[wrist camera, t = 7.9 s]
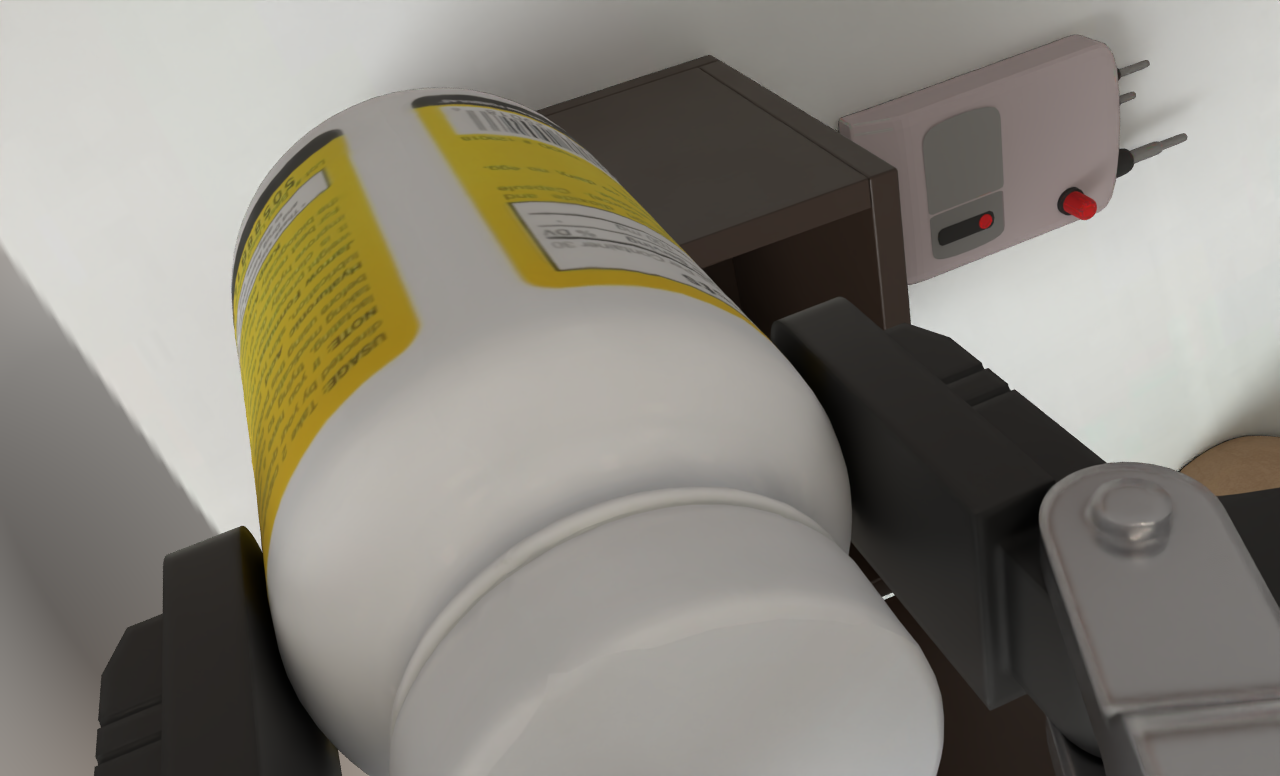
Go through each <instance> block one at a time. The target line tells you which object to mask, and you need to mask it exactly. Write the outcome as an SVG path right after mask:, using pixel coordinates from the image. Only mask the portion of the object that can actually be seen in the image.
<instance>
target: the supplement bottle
mask: <svg viewBox="0 0 1280 776" xmlns="http://www.w3.org/2000/svg"><path fill="white" fill-rule="evenodd" d="M231 293H232V310H233V323H234V329H235V339H236V346H237V352H238V359H239V365H240V371H241V378H242V384H243V391H244V401H245V407H246V417H247V424H248V431H249V438H250V446H251V456H252V465H253V471H254V478H255V487H256V495H257V505H258V514H259V523H260V532H261V544H262V552H263V560H264V570H265V579H266V589H267V597H268V602H269V607H270V612H271V616H272V621H273V626H274V630H275V635H276V640H277V644H278V649H279V653H280V656H281V659H282V662H283V665H284V668H285V671H286V674H287V676H288V679H289V681H290V683H291V685H292V687H293V689H294V691H295V693H296V695H297V697H298V699H299V701H300V702H301V704H302V705H303V707H304V708H305V709H306V711H307V712H308V714H309V715H310V717H311V718H312V719H313V721H314V722H315V724H316V725H317V727H318V728H319V729H320V730H321V731H322V732H323V733H324V735H325V736H326V737H327V738H328V739H329V740H330V742H331V743H332V744H333V745H334V746H335V747H336V748H337V749H338V750H339V751H340V752H342V754H343V755H345V756H346V757H347V758H348V759H349V760H350V761H351V762H352V763H353V764H355V765H356V766H357V767H358V768H360V769H361V770H362V771H364V772H365V773H366V774H368V775H370V776H937V772H938V768H939V764H940V760H941V756H942V750H943V744H944V711H943V703H942V696H941V693H940V689H939V686H938V683H937V680H936V676H935V674H934V672H933V670H932V668H931V667H930V665H929V663H928V661H927V659H926V657H925V655H924V653H923V652H922V650H921V648H920V646H919V645H918V643H917V642H916V641H915V640H914V639H913V637H912V636H911V635H910V634H909V632H908V631H907V630H906V629H905V627H904V626H903V625H902V624H901V622H900V621H899V620H898V619H897V617H896V616H895V614H894V613H893V612H892V610H891V609H890V608H889V606H888V605H887V604H886V602H885V601H884V599H883V598H882V597H881V595H880V594H879V593H878V592H877V590H876V589H875V588H874V586H873V585H872V584H871V582H870V581H869V580H868V579H867V577H866V576H865V575H864V573H863V572H862V571H861V569H860V568H859V567H858V565H857V564H856V563H855V561H854V560H853V559H852V558H851V557H850V556H848V555H849V549H850V542H851V530H852V504H851V492H850V483H849V477H848V472H847V467H846V464H845V460H844V457H843V454H842V451H841V447H840V444H839V442H838V439H837V437H836V434H835V432H834V429H833V427H832V424H831V422H830V420H829V418H828V416H827V414H826V412H825V410H824V408H823V407H822V405H821V404H820V402H819V401H818V399H817V397H816V396H815V394H814V393H813V391H812V390H811V388H810V387H809V386H808V384H807V383H806V382H805V381H804V379H803V378H802V377H801V375H800V374H799V373H798V372H797V370H796V369H795V368H794V367H793V365H792V364H791V363H790V362H789V360H788V359H787V358H786V357H785V356H784V355H783V354H782V353H781V352H780V351H779V349H778V348H777V347H776V346H775V345H774V344H773V343H772V342H771V341H770V339H769V338H768V337H767V336H766V335H765V334H764V333H763V332H761V331H760V329H759V328H758V327H757V326H756V325H755V324H754V323H753V322H752V321H751V320H750V319H749V318H748V317H747V316H746V315H745V314H744V313H743V312H742V311H741V310H740V309H739V307H738V306H737V305H736V304H735V303H734V302H733V301H732V300H731V299H730V298H729V297H727V296H726V295H725V294H724V293H723V291H722V290H721V289H720V288H719V287H718V286H717V285H716V284H715V283H714V282H713V281H712V280H711V279H710V277H709V276H708V275H707V274H706V273H705V272H704V271H703V270H702V269H701V268H700V267H699V266H698V265H697V264H696V263H695V262H694V261H693V260H692V259H691V257H690V256H689V255H688V254H687V253H686V252H685V251H684V250H683V249H682V248H681V247H680V246H679V245H678V244H677V243H676V242H675V241H674V240H673V239H672V238H671V237H670V236H669V235H668V234H667V232H666V231H665V230H664V229H663V228H662V227H661V226H660V225H659V224H658V223H657V222H656V221H655V220H654V218H653V217H652V216H651V215H650V214H649V213H648V212H647V211H646V210H645V209H644V208H643V207H642V206H641V205H640V204H639V203H638V202H637V201H636V200H635V199H634V198H633V197H632V196H631V195H630V194H629V193H628V192H627V191H626V190H625V189H624V188H623V187H622V186H621V185H620V183H619V182H618V181H617V180H616V179H615V178H614V177H613V176H612V175H611V174H610V173H609V172H608V171H607V170H606V169H605V168H604V167H603V166H602V165H601V163H600V162H599V161H598V160H597V159H596V158H595V157H594V156H593V155H592V153H590V152H589V151H588V150H587V149H586V148H585V147H584V146H583V145H582V144H580V143H579V142H578V141H577V140H576V139H574V138H573V137H572V136H571V135H569V134H568V133H567V132H566V131H564V130H563V129H562V128H560V127H559V126H557V125H556V124H554V123H553V122H552V121H550V120H549V119H547V118H546V117H544V116H543V115H541V114H539V113H537V112H536V111H534V110H532V109H530V108H528V107H525V106H523V105H521V104H518V103H516V102H514V101H511V100H508V99H505V98H502V97H499V96H495V95H492V94H489V93H484V92H479V91H474V90H469V89H460V88H435V87H434V88H421V89H412V90H406V91H399V92H393V93H390V94H386V95H383V96H379V97H375V98H372V99H369V100H367V101H364V102H362V103H359V104H357V105H355V106H352V107H350V108H348V109H346V110H344V111H342V112H340V113H338V114H336V115H334V116H332V117H331V118H329V119H327V120H326V121H324V122H323V123H321V124H320V125H318V126H317V127H315V128H314V129H312V130H311V131H310V132H308V133H307V134H306V135H305V136H304V137H302V138H301V139H300V140H299V141H297V142H296V143H295V144H294V145H293V146H292V147H291V148H290V149H289V150H288V151H287V152H286V153H285V154H284V155H283V156H282V157H281V158H280V160H279V161H278V162H277V163H276V164H275V166H274V167H273V168H272V169H271V170H270V172H269V173H268V174H267V176H266V177H265V179H264V180H263V181H262V183H261V184H260V186H259V188H258V190H257V192H256V193H255V195H254V197H253V199H252V201H251V202H250V205H249V207H248V209H247V212H246V214H245V216H244V218H243V221H242V224H241V227H240V230H239V234H238V237H237V242H236V246H235V251H234V258H233V267H232V283H231Z"/></svg>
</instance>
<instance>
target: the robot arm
mask: <svg viewBox="0 0 1280 776" xmlns="http://www.w3.org/2000/svg"><path fill="white" fill-rule="evenodd" d="M771 342H772V343H773V344H774V345H775V346H776V347H777V348H778V349H779V351H780V352H781V353H782V354H783V355H784V356H785V357H786V358H787V359H788V360H789V362H790V363H791V364H792V365H793V367H794V368H795V369H796V370H797V372H798V373H799V374H800V375H801V377H802V378H803V379H804V381H805V382H806V383H807V384H808V386H809V387H810V388H811V390H812V391H813V393H814V394H815V396H816V397H817V399H818V401H819V402H820V404H821V405H822V407H823V408H824V410H825V412H826V414H827V416H828V418H829V420H830V422H831V424H832V427H833V429H834V432H835V434H836V437H837V439H838V442H839V444H840V447H841V451H842V454H843V457H844V460H845V464H846V467H847V472H848V477H849V483H850V492H851V504H852V530H851V542H852V543H853V545H854V546H855V547H856V548H857V549H858V551H859V552H860V553H861V554H862V555H863V557H864V558H865V559H866V560H867V562H868V563H869V564H870V565H871V566H872V568H873V569H874V570H875V571H876V573H877V574H878V575H879V576H880V577H881V579H882V580H883V581H884V582H885V584H886V585H887V586H888V587H889V588H890V590H891V591H892V592H893V593H894V594H895V596H896V597H897V598H898V599H899V601H900V602H901V603H902V604H903V605H904V607H905V608H906V609H907V610H908V612H909V613H910V614H911V615H912V616H913V618H914V619H915V620H916V621H917V623H918V624H919V625H920V626H921V627H922V629H923V630H924V631H925V632H926V633H927V635H928V636H929V637H930V638H931V640H932V641H933V642H934V643H935V644H936V646H937V647H938V648H939V649H940V651H941V652H942V653H943V654H944V655H945V657H946V658H947V659H948V660H949V662H950V663H951V664H952V665H953V666H954V668H955V669H956V670H957V671H958V672H959V674H960V675H961V676H962V677H963V679H964V680H965V681H966V682H967V683H968V685H969V686H970V687H971V688H972V690H973V691H974V692H975V693H976V694H977V696H978V697H979V698H980V699H981V701H982V702H983V703H984V704H985V705H986V707H987V708H988V709H989V710H990V711H991V710H993V709H995V708H997V707H1000V706H1002V705H1004V704H1006V703H1008V702H1010V701H1013V700H1015V699H1017V698H1019V697H1021V696H1023V695H1026V694H1028V695H1029V696H1030V697H1031V698H1032V700H1033V701H1034V702H1035V703H1036V704H1037V705H1038V706H1039V708H1040V709H1041V710H1042V711H1043V712H1044V713H1045V714H1046V738H1047V744H1048V749H1049V752H1050V756H1051V760H1052V763H1053V767H1054V770H1055V774H1056V776H1280V487H1279V488H1273V489H1266V490H1260V491H1253V492H1247V493H1241V494H1232V495H1223V496H1216V495H1215V494H1213V493H1212V492H1211V491H1210V490H1209V489H1208V488H1207V487H1206V486H1204V485H1203V484H1201V483H1200V482H1198V481H1197V480H1195V479H1193V478H1191V477H1189V476H1187V475H1185V474H1183V473H1181V472H1178V471H1175V470H1172V469H1170V468H1166V467H1162V466H1158V465H1153V464H1146V463H1137V462H1117V463H1106V462H1105V461H1104V460H1102V459H1101V458H1100V457H1099V456H1097V455H1096V454H1095V453H1094V452H1092V451H1091V450H1090V449H1089V448H1087V447H1086V446H1085V445H1084V444H1082V443H1081V442H1080V441H1079V440H1077V439H1076V438H1075V437H1074V436H1072V435H1071V434H1070V433H1069V432H1067V431H1066V430H1065V429H1064V428H1062V427H1061V426H1060V425H1059V424H1057V423H1056V422H1055V421H1054V420H1052V419H1051V418H1050V417H1049V416H1047V415H1046V414H1045V413H1044V412H1042V411H1041V410H1040V409H1039V408H1037V407H1036V406H1035V405H1034V404H1032V403H1031V402H1030V401H1029V400H1027V399H1026V398H1025V397H1024V396H1022V395H1021V394H1020V393H1019V392H1017V391H1016V390H1015V389H1014V390H1012V391H1011V390H1010V389H1009V386H1008V384H1007V383H1006V382H1005V381H1004V380H1002V379H1001V378H1000V377H999V376H997V375H996V374H995V373H994V372H992V371H991V370H990V369H989V368H987V369H984V368H983V366H982V363H981V362H980V361H979V360H977V359H976V358H975V357H974V356H972V355H971V354H970V353H969V352H967V351H966V350H965V349H964V348H962V347H961V346H960V345H959V344H957V343H956V342H955V341H954V340H952V339H951V338H950V337H947V336H944V335H941V334H938V333H935V332H932V331H929V330H926V329H923V328H920V327H917V326H914V325H910V324H907V323H902V324H899V325H897V326H894V327H892V328H889V329H887V330H884V331H883V330H882V329H881V328H880V327H879V326H877V325H876V324H875V323H874V322H873V321H872V320H871V319H869V318H868V317H867V316H866V315H865V314H864V313H862V312H861V311H860V310H859V309H858V308H857V307H855V306H854V305H853V304H852V303H851V302H850V301H848V300H847V299H846V298H843V297H836V298H834V299H831V300H829V301H826V302H823V303H821V304H818V305H816V306H813V307H810V308H808V309H805V310H803V311H800V312H797V313H795V314H792V315H790V316H787V317H784V318H782V319H779V320H777V321H775V322H773V324H772V327H771ZM98 720H99V722H100V725H101V728H99V729H98V730H97V744H96V759H97V761H98V766H96V767H95V771H94V776H342V773H341V766H340V760H339V754H338V749H337V748H336V747H335V746H334V745H333V744H332V743H331V742H330V740H329V739H328V738H327V737H326V736H325V735H324V733H323V732H322V731H321V730H320V729H319V728H318V727H317V725H316V724H315V722H314V721H313V719H312V718H311V717H310V715H309V714H308V712H307V711H306V709H305V708H304V707H303V705H302V704H301V702H300V701H299V699H298V697H297V695H296V693H295V691H294V689H293V687H292V685H291V683H290V681H289V679H288V676H287V674H286V671H285V668H284V665H283V662H282V659H281V656H280V653H279V649H278V644H277V640H276V635H275V630H274V626H273V621H272V616H271V612H270V607H269V602H268V597H267V589H266V579H265V570H264V560H263V553H262V551H261V549H260V547H259V545H258V543H257V542H256V540H255V538H254V537H253V535H252V534H251V532H250V531H249V530H248V529H247V528H246V527H245V526H240V527H238V528H235V529H232V530H230V531H227V532H225V533H222V534H219V535H217V536H214V537H212V538H209V539H207V540H204V541H202V542H199V543H196V544H194V545H191V546H189V547H186V548H183V549H181V550H178V551H176V552H173V553H170V554H168V555H166V556H165V558H164V563H163V614H161V615H158V616H156V617H153V618H151V619H149V620H146V621H143V622H140V623H138V624H135V625H133V626H130V627H128V628H127V629H126V631H125V633H124V635H123V637H122V638H121V640H120V642H119V644H118V646H117V647H116V649H115V651H114V653H113V655H112V657H111V659H110V661H109V662H108V665H107V666H106V668H105V670H104V672H103V674H102V678H101V689H100V703H99V717H98Z"/></svg>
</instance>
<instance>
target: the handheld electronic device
mask: <svg viewBox="0 0 1280 776" xmlns="http://www.w3.org/2000/svg"><path fill="white" fill-rule="evenodd" d="M1149 65H1150V62H1149V61H1148V60H1144V61H1141V62H1138V63H1136V64H1133V65H1130V66H1128V67H1125V68H1122V69H1117V67H1116V63H1115V60H1114V56H1113V53H1112V52H1111V50H1110V49H1109V48H1108V47H1107V45H1106V44H1104V43H1101V42H1098V41H1096V40H1093V39H1090V38H1087V37H1084V36H1081V35H1072V36H1069V37H1066V38H1063V39H1061V40H1058V41H1055V42H1052V43H1050V44H1047V45H1044V46H1041V47H1039V48H1036V49H1033V50H1030V51H1027V52H1025V53H1022V54H1019V55H1016V56H1014V57H1011V58H1008V59H1005V60H1003V61H1000V62H997V63H994V64H992V65H989V66H986V67H983V68H981V69H978V70H975V71H972V72H969V73H967V74H964V75H961V76H958V77H956V78H953V79H950V80H947V81H945V82H942V83H939V84H936V85H934V86H931V87H928V88H925V89H923V90H920V91H917V92H914V93H911V94H909V95H906V96H903V97H900V98H898V99H895V100H892V101H889V102H887V103H884V104H881V105H878V106H875V107H872V108H869V109H866V110H863V111H860V112H857V113H854V114H851V115H849V116H846V117H843V118H840V120H839V133H840V134H842V135H843V136H845V137H846V138H848V139H850V140H851V141H853V142H855V143H856V144H858V145H860V146H861V147H863V148H864V149H866V150H868V151H869V152H871V153H873V154H874V155H876V156H878V157H879V158H881V159H883V160H884V161H886V162H887V163H889V164H891V165H892V166H894V167H896V168H897V170H898V180H899V192H900V203H901V215H902V227H903V238H904V250H905V262H906V273H907V285H911V284H915V283H919V282H922V281H925V280H927V279H930V278H933V277H935V276H938V275H940V274H943V273H945V272H948V271H950V270H953V269H955V268H958V267H960V266H963V265H966V264H968V263H971V262H973V261H976V260H978V259H981V258H983V257H986V256H988V255H991V254H993V253H996V252H999V251H1001V250H1004V249H1006V248H1009V247H1011V246H1014V245H1016V244H1019V243H1021V242H1024V241H1026V240H1029V239H1032V238H1034V237H1037V236H1039V235H1042V234H1044V233H1047V232H1049V231H1052V230H1054V229H1057V228H1059V227H1062V226H1065V225H1067V224H1070V223H1072V222H1075V221H1077V220H1080V219H1081V220H1087V219H1090V218H1091V217H1093V216H1094V215H1095V213H1098V212H1100V211H1101V210H1102V209H1103V208H1105V207H1106V206H1107V204H1108V202H1109V201H1110V199H1111V197H1112V193H1113V189H1114V186H1115V182H1116V178H1118V177H1120V176H1122V175H1124V174H1126V173H1128V172H1129V171H1130V170H1131V169H1132V168H1133V166H1134V163H1137V162H1139V161H1142V160H1145V159H1147V158H1150V157H1152V156H1155V155H1157V154H1159V153H1161V152H1162V150H1164V149H1167V148H1169V147H1172V146H1174V145H1177V144H1179V143H1182V142H1184V141H1186V140H1187V135H1186V134H1184V133H1183V134H1179V135H1176V136H1174V137H1171V138H1169V139H1166V140H1163V141H1161V142H1152V143H1149V144H1147V145H1144V146H1141V147H1139V148H1136V149H1134V150H1131V151H1129V150H1127V149H1119V133H1120V109H1119V106H1120V104H1121V103H1124V102H1127V101H1129V100H1132V99H1134V98H1135V97H1136V94H1135V92H1129V93H1127V94H1124V95H1121V96H1119V87H1118V80H1119V79H1120V78H1121V77H1122V76H1125V75H1128V74H1131V73H1133V72H1136V71H1139V70H1141V69H1144V68H1146V67H1148V66H1149Z"/></svg>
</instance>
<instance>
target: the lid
mask: <svg viewBox="0 0 1280 776" xmlns="http://www.w3.org/2000/svg"><path fill="white" fill-rule="evenodd" d="M884 601H885V602H886V604H887V605H888V606H889V608H890V609H891V610H892V612H893V613H894V614H895V616H896V617H897V619H898V620H899V621H900V622H901V624H902V625H903V626H904V627H905V629H906V630H907V631H908V632H909V634H910V635H911V636H912V637H913V639H914V640H915V641H916V642H917V643H918V645H919V646H920V648H921V650H922V652H923V653H924V655H925V657H926V659H927V661H928V663H929V665H930V667H931V668H932V670H933V672H934V674H935V676H936V680H937V683H938V686H939V689H940V693H941V696H942V703H943V711H944V744H943V750H942V756H941V760H940V764H939V768H938V772H937V776H1056V774H1055V770H1054V767H1053V763H1052V760H1051V756H1050V752H1049V749H1048V744H1047V738H1046V714H1045V713H1044V712H1043V711H1042V710H1041V709H1040V708H1039V706H1038V705H1037V704H1036V703H1035V702H1034V701H1033V700H1032V698H1031V697H1030V696H1029V695H1028V694H1026V695H1023V696H1021V697H1019V698H1017V699H1015V700H1013V701H1010V702H1008V703H1006V704H1004V705H1002V706H1000V707H997V708H995V709H993V710H991V711H990V710H989V709H988V708H987V707H986V705H985V704H984V703H983V702H982V701H981V699H980V698H979V697H978V696H977V694H976V693H975V692H974V691H973V690H972V688H971V687H970V686H969V685H968V683H967V682H966V681H965V680H964V679H963V677H962V676H961V675H960V674H959V672H958V671H957V670H956V669H955V668H954V666H953V665H952V664H951V663H950V662H949V660H948V659H947V658H946V657H945V655H944V654H943V653H942V652H941V651H940V649H939V648H938V647H937V646H936V644H935V643H934V642H933V641H932V640H931V638H930V637H929V636H928V635H927V633H926V632H925V631H924V630H923V629H922V627H921V626H920V625H919V624H918V623H917V621H916V620H915V619H914V618H913V616H912V615H911V614H910V613H909V612H908V610H907V609H906V608H905V607H904V605H903V604H902V603H901V602H900V601H899V599H898V598H897V597H896V596H893V597H890V598H888V599H886V600H884Z"/></svg>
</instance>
